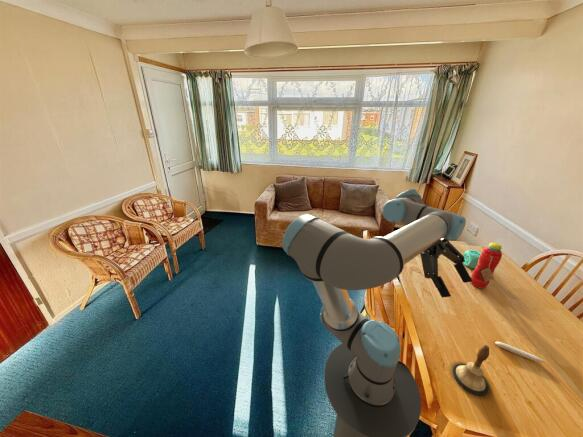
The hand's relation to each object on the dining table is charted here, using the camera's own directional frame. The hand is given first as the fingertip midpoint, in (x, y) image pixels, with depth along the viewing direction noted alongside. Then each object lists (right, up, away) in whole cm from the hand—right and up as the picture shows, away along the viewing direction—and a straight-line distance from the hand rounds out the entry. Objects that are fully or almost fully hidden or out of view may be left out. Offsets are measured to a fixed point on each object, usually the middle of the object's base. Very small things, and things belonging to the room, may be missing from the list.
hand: (457, 289), depth 75 cm
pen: (+31, -28, +11) cm, 43 cm away
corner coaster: (+6, -32, +2) cm, 32 cm away
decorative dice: (+51, -2, +54) cm, 75 cm away
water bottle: (+42, -12, +43) cm, 62 cm away
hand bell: (+6, -31, +2) cm, 32 cm away
